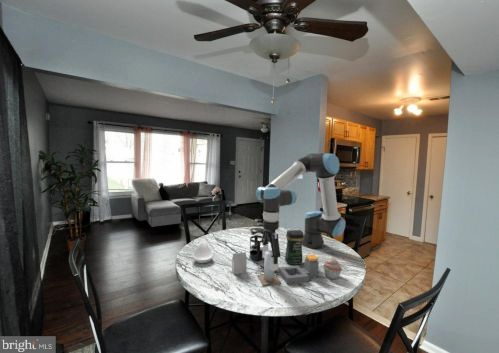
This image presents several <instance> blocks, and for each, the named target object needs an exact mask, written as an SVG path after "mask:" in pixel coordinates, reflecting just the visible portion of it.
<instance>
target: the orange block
mask: <svg viewBox="0 0 499 353" xmlns="http://www.w3.org/2000/svg"><path fill="white" fill-rule="evenodd" d="M305 258H307V259H308V261H310V262H316V261H318V262H319V257H317V256H316V255H315V254H306V255H305V257H304V259H305Z"/></svg>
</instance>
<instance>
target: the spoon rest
mask: <svg viewBox="0 0 499 353" xmlns="http://www.w3.org/2000/svg"><path fill="white" fill-rule="evenodd" d="M213 257H214V252H213V250H212V249H211V248H210V246H209V244H208V242H207V240H205V241H202V240H201V241H200V243H199V245H198V246H197V247H196V248H195V250H194V251H193V253H192V255H191V258H192V259H193V260H194V261H195V262H196V263H199V264H206V263H208V262H210V261H211V260H213Z"/></svg>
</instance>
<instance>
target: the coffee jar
mask: <svg viewBox="0 0 499 353" xmlns="http://www.w3.org/2000/svg"><path fill="white" fill-rule="evenodd" d="M303 235H304V231H302V230H301V229H287V231H286V235H285V237H286V249H285V256H284V260H285V262H286V263H287V264H289V265H301V264H302V263H303V245H302V241H303V239H304V236H303Z"/></svg>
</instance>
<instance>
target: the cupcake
mask: <svg viewBox="0 0 499 353" xmlns="http://www.w3.org/2000/svg"><path fill="white" fill-rule="evenodd" d="M322 266H323V267H322V268H323V269H324V275H325V277H326V278H328V279H331V280H338V279H339V277H340V275H341V272H342V271H343V269H342V267H341V263H340V262H339V261H338V260H337V259H336V258H335V257H332V256H331V258H329V259H327V260H326V261H324V263H323V265H322Z"/></svg>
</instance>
